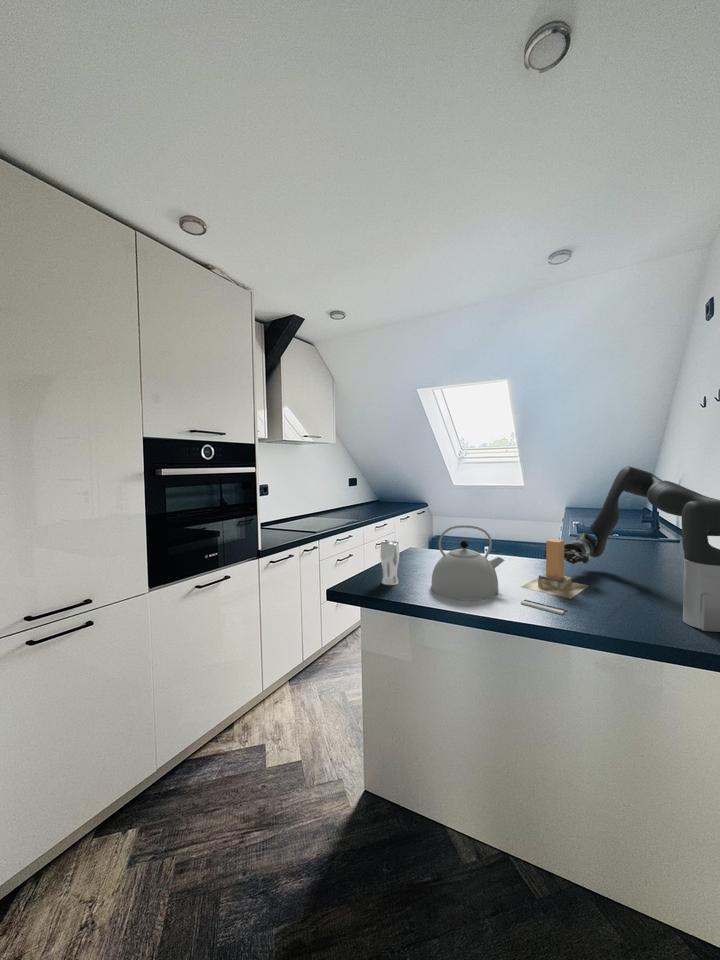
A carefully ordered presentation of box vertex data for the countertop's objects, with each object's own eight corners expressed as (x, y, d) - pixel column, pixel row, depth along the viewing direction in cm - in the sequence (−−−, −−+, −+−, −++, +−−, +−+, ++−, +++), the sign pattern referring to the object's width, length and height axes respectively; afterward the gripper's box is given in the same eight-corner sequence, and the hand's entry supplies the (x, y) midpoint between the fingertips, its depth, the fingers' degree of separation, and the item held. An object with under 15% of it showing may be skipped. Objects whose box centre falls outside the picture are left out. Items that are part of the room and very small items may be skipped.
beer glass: (380, 580, 145) (380, 540, 145) (398, 580, 145) (398, 540, 145) (380, 585, 139) (380, 544, 138) (400, 585, 138) (399, 544, 138)
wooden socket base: (589, 588, 133) (589, 574, 133) (570, 601, 121) (570, 586, 121) (541, 578, 145) (541, 566, 145) (520, 589, 133) (520, 576, 132)
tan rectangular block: (563, 585, 133) (564, 540, 132) (558, 589, 130) (558, 542, 129) (551, 583, 136) (552, 538, 135) (546, 586, 133) (546, 540, 132)
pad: (576, 603, 119) (576, 602, 119) (562, 614, 111) (562, 612, 111) (537, 594, 128) (537, 592, 127) (520, 603, 119) (520, 601, 119)
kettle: (496, 580, 144) (496, 520, 143) (513, 602, 121) (514, 531, 120) (429, 578, 147) (429, 520, 146) (433, 599, 124) (433, 530, 123)
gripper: (556, 539, 151) (538, 545, 140) (596, 544, 141) (581, 551, 130) (555, 558, 151) (538, 565, 140) (596, 564, 141) (581, 573, 130)
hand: (559, 558), depth 135 cm, fingers open, 8 cm apart
